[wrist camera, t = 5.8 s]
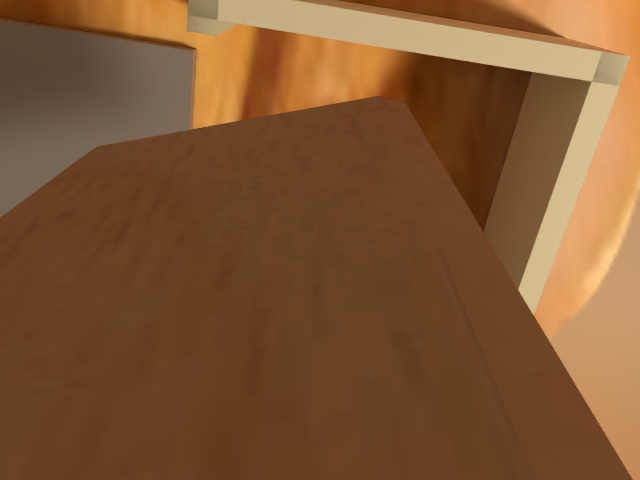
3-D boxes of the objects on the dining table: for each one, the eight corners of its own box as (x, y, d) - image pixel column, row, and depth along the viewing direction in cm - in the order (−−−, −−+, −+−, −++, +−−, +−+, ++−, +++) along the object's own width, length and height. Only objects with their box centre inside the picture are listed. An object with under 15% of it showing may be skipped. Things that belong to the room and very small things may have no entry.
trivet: (4, 208, 34) (-4, 213, 33) (-15, 15, 29) (-24, 16, 29) (186, 235, 35) (183, 240, 34) (196, 49, 30) (193, 51, 29)
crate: (202, 244, 35) (173, 305, 28) (220, -20, 28) (189, -18, 22) (486, 285, 36) (519, 353, 29) (565, 38, 29) (630, 56, 23)
